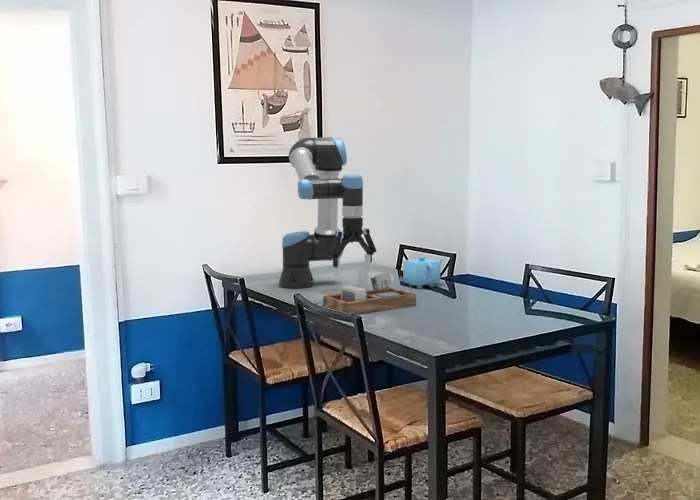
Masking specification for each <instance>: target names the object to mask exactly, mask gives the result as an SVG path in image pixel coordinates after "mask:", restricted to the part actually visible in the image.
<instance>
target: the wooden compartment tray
mask: <svg viewBox="0 0 700 500" xmlns="http://www.w3.org/2000/svg"><path fill="white" fill-rule="evenodd" d="M387 292H394V293H397V294H400V295H401V296H394V297H387V298H381V297H380V298H379V297H376V296H372V295H373V294H378V293H387ZM412 306H417V293H415V292H410V291H406V290H402V289H399V288H395V287H393V288H384V289H377V290H373V289H371V290H366V300H360V301H353V302H345V301H342V300H341V293H335V294H334V293H333V294H328V295H323V297H322V308H323V307H326V308H330V309H334V310H337V311H342V312H346V313H351V314H356V315H355V316H357V314H358V315H362V314H363V313H364V314H369V313H368V312H370V313H375V312H374V311H376V312H381V310H383V311H387V310H388V309H389V310H394V309H401V308H407V307H412ZM364 314H363V315H364Z"/></svg>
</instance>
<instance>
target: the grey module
mask: <svg viewBox="0 0 700 500" xmlns="http://www.w3.org/2000/svg"><path fill="white" fill-rule="evenodd" d="M372 296H376V297H379V298H380V297H381V298H387V297H394V296H401V295H400V294H397V293H394V292H387V293H378V294H373V295H372Z"/></svg>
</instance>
